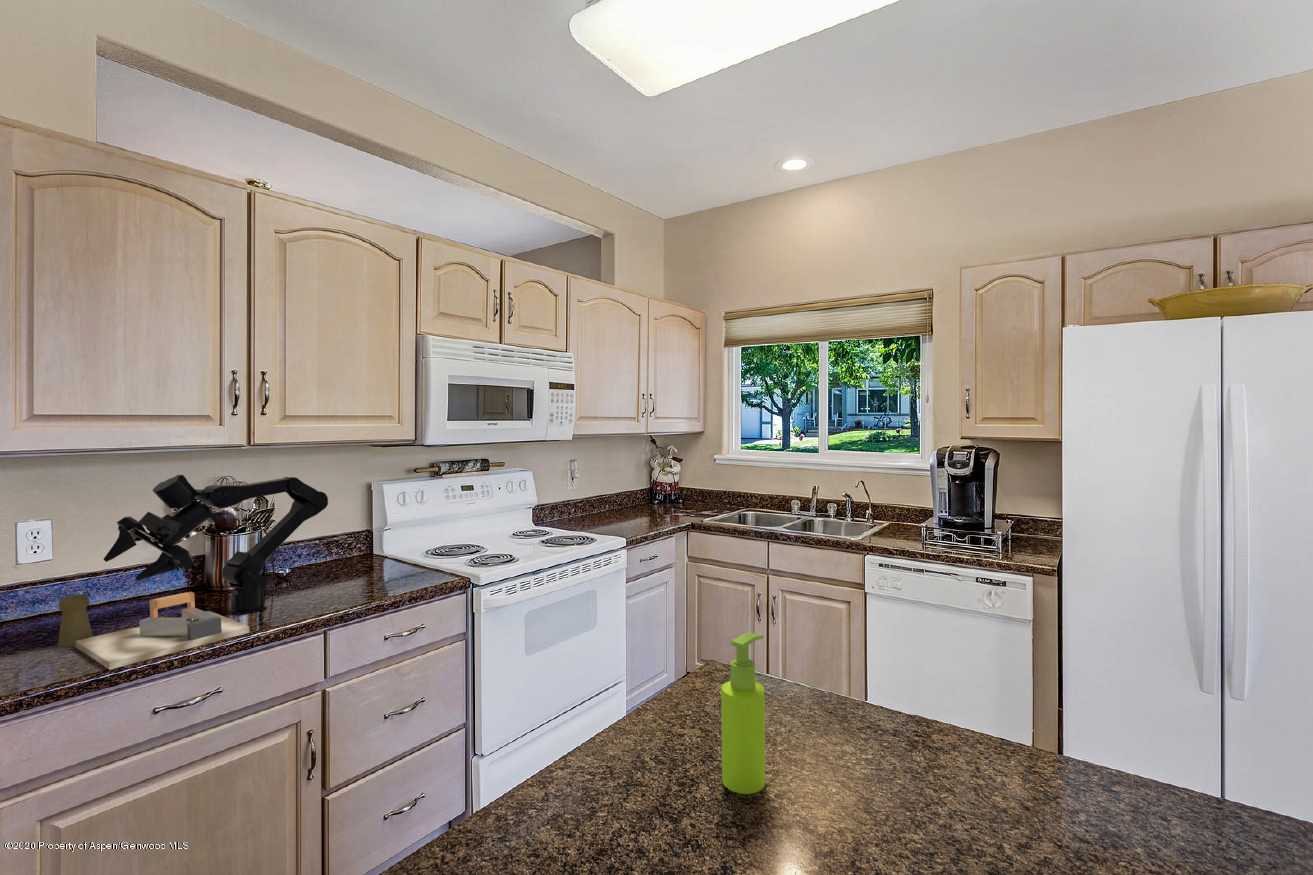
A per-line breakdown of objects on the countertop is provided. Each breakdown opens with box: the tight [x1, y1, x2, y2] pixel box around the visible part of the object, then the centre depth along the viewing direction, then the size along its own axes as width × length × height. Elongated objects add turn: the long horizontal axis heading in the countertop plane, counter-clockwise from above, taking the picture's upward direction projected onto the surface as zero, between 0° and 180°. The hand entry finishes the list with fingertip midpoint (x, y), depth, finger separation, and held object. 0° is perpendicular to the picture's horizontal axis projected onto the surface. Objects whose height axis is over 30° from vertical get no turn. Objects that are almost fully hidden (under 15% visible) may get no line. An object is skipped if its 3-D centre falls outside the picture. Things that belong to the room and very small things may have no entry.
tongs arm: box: [138, 616, 199, 636], centre depth 143 cm, size 2×12×4 cm, turn 86°
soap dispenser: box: [720, 632, 766, 795], centre depth 86 cm, size 6×7×20 cm
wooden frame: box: [149, 591, 196, 617], centre depth 153 cm, size 8×2×6 cm, turn 146°
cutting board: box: [75, 610, 250, 671], centre depth 144 cm, size 26×23×2 cm
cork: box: [57, 593, 94, 648], centre depth 143 cm, size 6×6×11 cm
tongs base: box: [181, 606, 222, 641], centre depth 146 cm, size 6×16×4 cm, turn 56°
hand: (120, 570), depth 142 cm, fingers open, 9 cm apart
